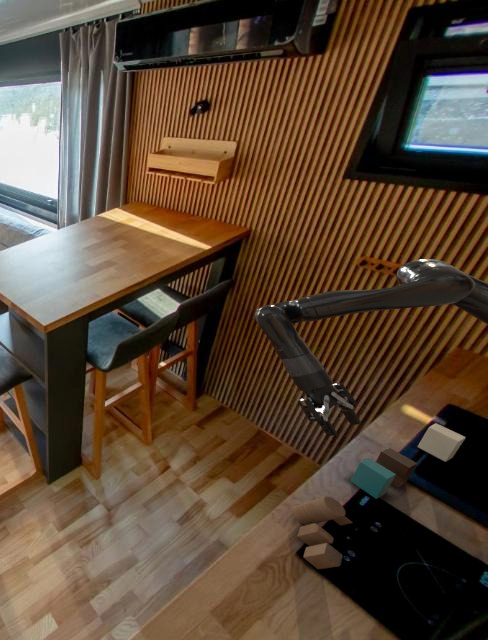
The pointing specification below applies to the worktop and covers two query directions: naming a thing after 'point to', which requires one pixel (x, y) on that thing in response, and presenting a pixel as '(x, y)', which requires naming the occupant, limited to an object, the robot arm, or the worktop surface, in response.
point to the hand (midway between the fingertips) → (344, 429)
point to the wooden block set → (320, 530)
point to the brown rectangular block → (396, 465)
